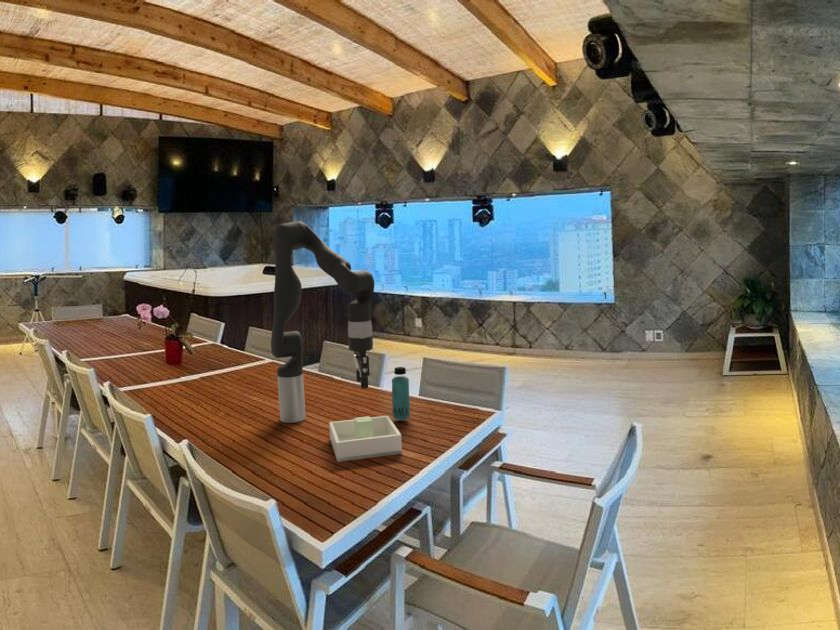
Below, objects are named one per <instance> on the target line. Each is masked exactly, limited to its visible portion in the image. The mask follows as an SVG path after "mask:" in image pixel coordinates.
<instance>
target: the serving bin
mask: <svg viewBox="0 0 840 630" xmlns="http://www.w3.org/2000/svg"><path fill="white" fill-rule="evenodd" d="M370 418H371V420H372V431H373V437H370V438H362V439H356V434H355V418H354V419H347V420H336V421H329V424H328V426H329V440H330V443H331V446H332V449H333V452H334V456H335V459H336V461H337V463H339V462H340V463H341V462H348V461H355V460H362V459H363V460H364V459H369V458H379V457H385V456H393V455H401V454H403V444H402V440H403V439H402V433H401V432H400V430H399V429H398V427H396V425H395V424H394V422H393V421H392V419H391V418H390V416H389V415H383V416H382V415H381V416H373V417H370Z"/></svg>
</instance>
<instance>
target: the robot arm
mask: <svg viewBox="0 0 840 630" xmlns="http://www.w3.org/2000/svg"><path fill="white" fill-rule="evenodd" d="M273 247H274V249H273V250H274V262H275V263H274V269H275V270H274V272H275V273H274V290H273V291H274V292H273V319H272V320H273V321H272V329H271V337H270V338H271V339H270V351H271V354H272V356H273V357H274V358H277V359H279V358H280V359H281V358H282V359H284V358H288V357H290V359H289V360H288V361H286V363H284V364H282V365H280V366H279V367H277V370H276V374H277V388H278V402H279V403H278V404H279V416H280V417H279V418H280V422H282V423H285V424H294V423H300V422H302V421H304V420H306V404H305V403H306V401H305V385H304V384H305V383H304V365H303V363H304V361H303V357H304V356H303V338H302V334H301V333H300V332H299V331H298V330H293V331H292V330H291V331H285V328H286V326H287V324H288V322H289V320H290V319H291V318H292V317H293V315H294V314H295V312H296V311H297V310H298V309H299V307H300V304H301V301H302V290H303V289H302V283H301V280H300V278H299V277H298V275H297V273H296V271H295V270H294V268H293V265H292V253H293V251H296V250H301V249H306V250H308V251H309V252H311V253H313V255H314V257H315V258H314V259H315V261H316V263H317V264H316V265H317V266H318V267H319V268H320V270H322V271H323V272H324V273H325V274H326V275H328V276H329V277H330V278H332V279H334V281H335V283H337V285H338V286H339V288H340V289H341V290H342V291H343V292H345V293H346V294H348V295H353V296H354V295H355V297H354V300H353V301H351V302H350V303H348V305H347V318H348V319H347V320H348V322H347V335H348V340H347V341H348V350H349V351H351V352H353V359H354V360H353V362H354V363H353V364H354V365H353V366H354V369H355V373H356V382H357V383H360V388H361V389H362V390H365V389H368V388H369V377H370V375H371V373H370V358H369V355H367V351H368V352H369V351H371V350H373V348H374V343H373V342H374V341H373V325H372V319H371V318H372V314H371V313H372V312H371V311H372V310H371V306H372V305H371V304H372V301H373V297H374V293H375V292H374V291H375V279H374V276H373V274H372V273H371V272H370V271H368V270H355V271H352V266H351V263H350V262H349V261H348V260H347V259H345V257H342V256H341V255H339V254H338V253H337V252H336V251H334V250H332V248H331V247H329V246H328V245H327V244H326V243H325V242H324V241H323V240H322V239H321V237H319V235H317V234H316V232H314V231H313V230H312V229H311V228H310V227H309V226H308V225H307V223H304V222H303V221H298V220H296V221H290V222H289V221H288V222H285V223H281V224H278V225H277V226H276V227H275V229H274V232H273ZM364 371H365V372H364Z"/></svg>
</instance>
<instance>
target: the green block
mask: <svg viewBox="0 0 840 630" xmlns="http://www.w3.org/2000/svg"><path fill="white" fill-rule="evenodd" d="M354 419H355V434H356V439H362V438H370V437H373V431H372V420H371V417H370V416H369V415H366V416H360V417H354Z"/></svg>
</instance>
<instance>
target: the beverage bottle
mask: <svg viewBox="0 0 840 630" xmlns="http://www.w3.org/2000/svg"><path fill="white" fill-rule="evenodd" d="M393 372H394V375H395V376H394V377H393V378H392V379H391V399H392V418H393V419H394V420H397V421H402V420H408V419H409V418H410V416H411V406H410V405H411V404H410V379H409V378H408V377H407V376H405V374H406V373H407V372H406V367H404V366H398V367H395V368H394V371H393Z"/></svg>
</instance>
